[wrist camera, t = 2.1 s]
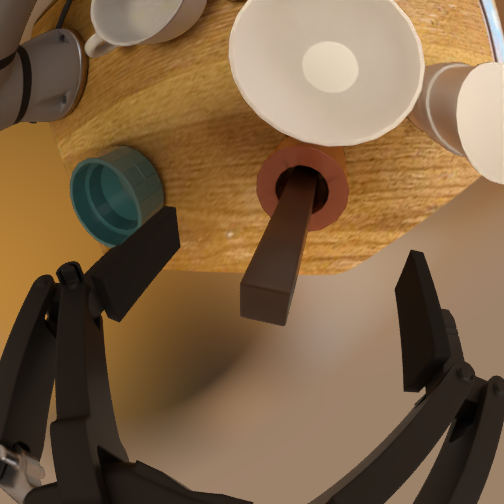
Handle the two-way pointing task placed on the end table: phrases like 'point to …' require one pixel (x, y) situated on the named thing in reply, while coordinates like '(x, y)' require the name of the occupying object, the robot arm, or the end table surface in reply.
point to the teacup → (139, 22)
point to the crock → (328, 187)
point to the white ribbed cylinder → (465, 113)
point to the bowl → (115, 193)
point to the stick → (280, 252)
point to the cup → (327, 67)
